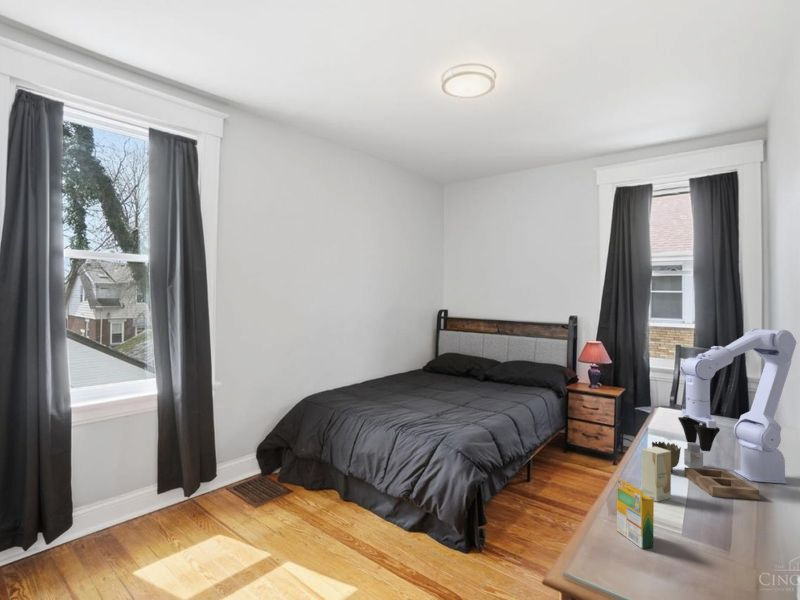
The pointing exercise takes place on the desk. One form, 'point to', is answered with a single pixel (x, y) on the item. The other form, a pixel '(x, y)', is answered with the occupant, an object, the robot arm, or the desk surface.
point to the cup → (674, 452)
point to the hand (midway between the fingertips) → (698, 446)
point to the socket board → (721, 483)
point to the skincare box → (656, 473)
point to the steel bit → (693, 456)
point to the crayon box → (634, 514)
